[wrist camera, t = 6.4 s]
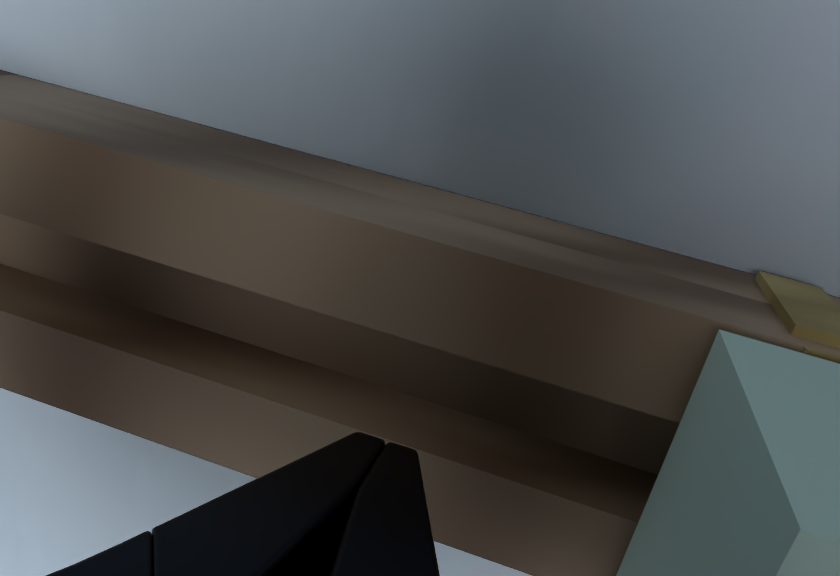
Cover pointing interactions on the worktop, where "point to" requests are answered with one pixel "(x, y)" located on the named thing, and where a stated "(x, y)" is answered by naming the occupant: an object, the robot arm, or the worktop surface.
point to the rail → (359, 322)
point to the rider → (748, 471)
